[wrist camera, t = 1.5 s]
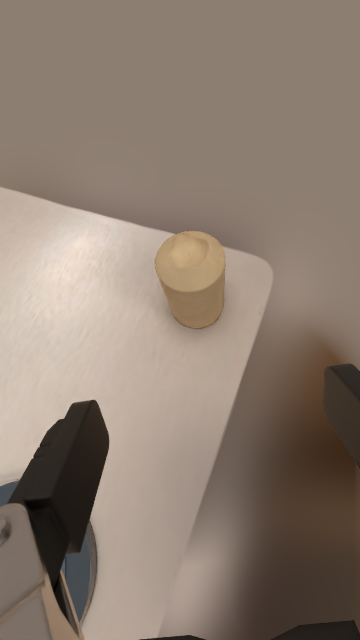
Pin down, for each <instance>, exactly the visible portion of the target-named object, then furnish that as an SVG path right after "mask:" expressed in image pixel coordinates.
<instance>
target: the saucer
mask: <svg viewBox="0 0 360 640" xmlns="http://www.w3.org/2000/svg"><path fill="white" fill-rule="evenodd" d="M18 483H19V481H15V482H11V483H8V484H5V485H3V486H0V507H1V506H3V505H6V504H7V503H8V501H9V499H10V497H11V496H12V494H13V492H14V490H15V488H16V487H17V485H18ZM96 564H97V557H96V545H95V539H94V534H93V531H92V527H91V524H90V521H89V523H88V526H87V530H86V534H85V537H84V541H83V545H82V548H81V552H80V553H72V554H65V557H64V560H63V564H62V567H61V570H62V572H63V574H64V577H65V580H66V584H67V587H68V590H69V593H70V596H71V599H72V602H73V605H74V609H75V612H76V615H77V618H78V621H79V624H80V625H81V623H82V621H83V619H84V617H85V615H86V613H87V610H88V607H89V604H90V601H91V598H92V594H93V590H94V585H95V578H96Z"/></svg>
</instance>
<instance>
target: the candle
mask: <svg viewBox="0 0 360 640" xmlns="http://www.w3.org/2000/svg"><path fill="white" fill-rule="evenodd" d="M155 268H156V272H157V274H158V277H159V280H160V282H161V285H162V287H163V290H164V293H165V295H166V298H167V300H168V303H169V306H170V308H171V311H172V313H173V315H174V317H175V318H176V319H177V320H178V321H179V322H180V323H181V324H183V325H184V326H187V327H190V328H203V327H206V326H209V325H210V324H212V323H213V322H215V321H216V320H217V318H218V317H219V316H220V314H221V312H222V309H223V302H224V281H225V253H224V250H223V248H222V246H221V245H220V243H219V242H218V241H217V240H216V239H214V238H213V237H212V236H210V235H208V234H206V233H203V232H198V231H187V232H182V233H179V234H176V235H174V236H172V237H171V238H169V239H168V240H166V241H165V242H164V243H163V244H162V246H161V247H160V248H159V250H158V252H157V255H156V259H155Z"/></svg>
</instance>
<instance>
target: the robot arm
mask: <svg viewBox="0 0 360 640" xmlns="http://www.w3.org/2000/svg"><path fill="white" fill-rule="evenodd" d="M323 403H324V404H323V405H324V411H325V414H326V417H327V419H328V421H329V423H330V424H331V426H332V427H333V429H334V430H335V432H336V433H337V435H338V436H339V437H340V439H341V441H342V442H343V444H344V445H345V447H346V448H347V449H348V451H349V453H350V454H351V456H352V457H353V458H354V460H355V461H356V463H357V465H358V466H359V468H360V371H359V370H358V369H357V368H356V367H355V366H354V365H352V364H343V365H337V366H329V367H326V368H325V372H324V399H323ZM108 450H109V435H108V431H107V428H106V425H105V422H104V419H103V417H102V414H101V411H100V408H99V405H98V403H97V401H95V400H89V401H83V402H76V403H73V404H72V405H71V406H70V408H69V410H68V412H67V414H66V416H65V418H64V419H60V420H58V421H57V422H56V423H55V424H54V425H53V426H52V427H51V428H50V429H49V430H48V431H47V433H46V434H45V436H44V438H43V440H42V442H41V443H40V447H38V449H37V451H36V452H35V454H34V458H33V459H32V460H31V461H30V463H29V465H28V467H27V469H26V470H25V472H24V474H23V476H22V478H21V479H20V481H19V483H18V485H17V487H16V488H15V490H14V492H13V494H12V496H11V497H10V499H9V501H8V503H7V504H6V505H3V506H1V507H0V640H84V637H83V634H82V630H81V627H80V624H79V621H78V618H77V615H76V612H75V609H74V605H73V602H72V599H71V596H70V593H69V590H68V587H67V584H66V580H65V577H64V574H63V572H62V570H61V567H62V564H63V560H64V557H65V554H72V553H80V552H81V548H82V545H83V541H84V537H85V534H86V530H87V526H88V523H89V519H90V515H91V512H92V508H93V505H94V501H95V497H96V494H97V490H98V486H99V483H100V479H101V475H102V472H103V468H104V464H105V461H106V457H107V454H108ZM141 640H205V639H201V638H198V637H195V636H191V635H186V636H174V637H163V638H152V639H141ZM271 640H360V634H359V631H358V629H357V626H356V624H355V621H354V620H353V621H341V622H331V623H319V624H308V625H299V626H297V627H295V628H293V629H291V630H289V631H287V632H285V633H283V634H281V635H279V636H277V637H275V638H273V639H271Z"/></svg>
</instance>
